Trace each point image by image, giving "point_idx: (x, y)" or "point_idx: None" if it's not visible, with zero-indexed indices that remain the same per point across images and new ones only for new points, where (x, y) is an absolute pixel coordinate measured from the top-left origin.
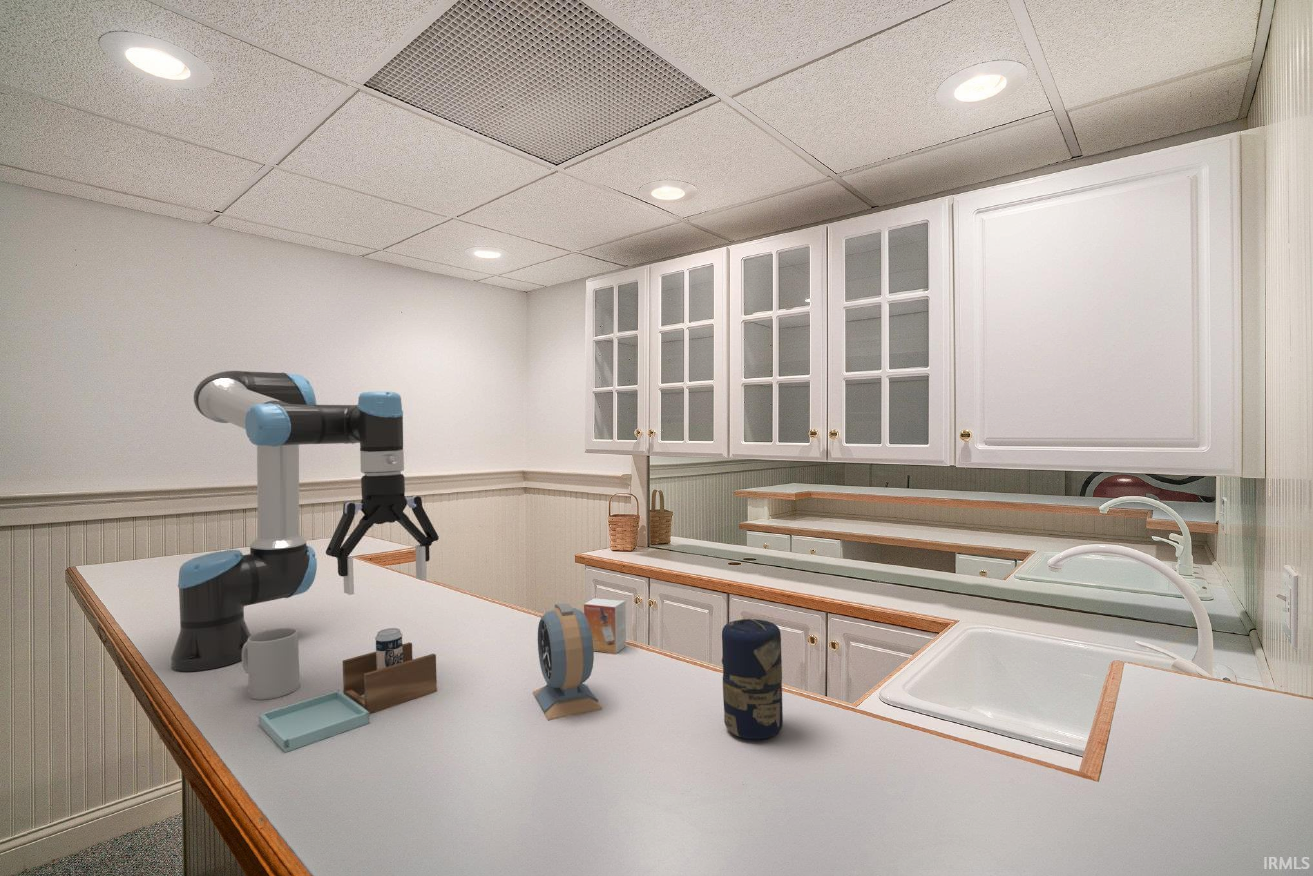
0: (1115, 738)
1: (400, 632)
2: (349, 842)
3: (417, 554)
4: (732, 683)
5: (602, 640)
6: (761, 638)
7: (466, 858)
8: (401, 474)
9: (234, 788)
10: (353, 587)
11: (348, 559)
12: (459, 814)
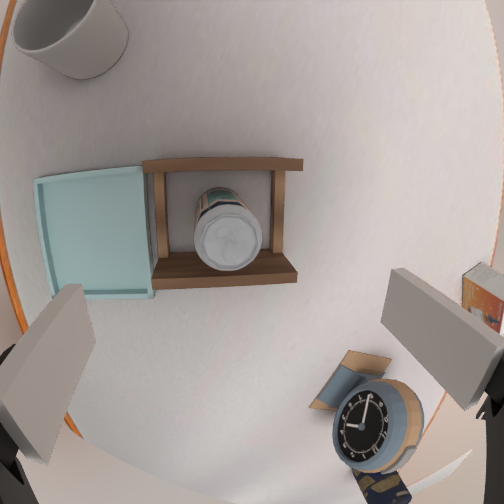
0: (409, 486)
1: (255, 254)
2: (107, 441)
3: (457, 343)
4: (364, 492)
5: (471, 303)
6: None
7: (164, 477)
8: None
9: (24, 327)
10: (87, 359)
11: (28, 456)
12: (175, 459)
